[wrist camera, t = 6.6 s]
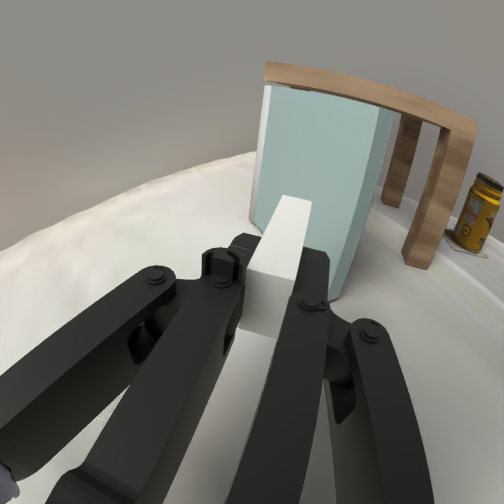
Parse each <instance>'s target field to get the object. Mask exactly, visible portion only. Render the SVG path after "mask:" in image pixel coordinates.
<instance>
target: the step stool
mask: <svg viewBox="0 0 504 504" xmlns="http://www.w3.org/2000/svg"><path fill="white" fill-rule="evenodd" d="M264 80H265V81H269V82H274V83H278V84H282V85H286V86H290V89H297V90H303V91H309V92H310V90H312V91H317V92H323V93H327V94H332V95H336V96H341V97H345V98H349V99H353V100H357V101H361V102H364V103H368V104H372V105H375V106H379V107H382V108H386V109H388V110H392V111H395V112H398V113H401V114H402V116H401V120H400V125H399V129H398V134H397V138H396V142H395V146H394V151H393V155H392V158H391V162H390V166H389V170H388V174H387V177H386V181H385V184H384V188H383V191H382V195H381V200H382V202H383V204H387V205H390V206H393V207H397V208H399V205H400V202H401V199H402V196H403V192H404V189H405V186H406V182H407V179H408V176H409V172H410V169H411V165H412V161H413V158H414V154H415V150H416V146H417V142H418V138H419V134H420V130H421V125H422V121H424V122H427V123H430V124H433V125H436V126H439V127H441V129H440V134H439V138H438V142H437V146H436V150H435V154H434V157H433V161H432V165H431V168H430V171H429V175H428V179H427V181H426V184H425V188H424V191H423V194H422V197H421V200H420V203H419V206H418V208H417V211H416V214H415V217H414V220H413V222H412V225H411V228H410V230H409V233H408V235H407V238H406V240H405V243H404V245H403V248H402V250H401V252H402V255H403V258H404V261H405V264H406V265H410V266H414V267H417V268H421V269H425V270H427V268H428V266H429V264H430V262H431V260H432V258H433V256H434V253H435V251H436V249H437V247H438V245H439V242H440V240H441V238H442V235H443V233H444V231H445V228H446V226H447V223H448V221H449V218H450V216H451V213H452V211H453V207H454V205H455V202H456V199H457V197H458V194H459V191H460V188H461V185H462V182H463V179H464V176H465V172H466V169H467V166H468V162H469V159H470V155H471V151H472V148H473V144H474V140H475V136H476V131H477V127H478V123H477V122H475V121H473V120H471V119H469V118H467V117H465V116H463V115H461V114H459V113H457V112H455V111H452V110H450V109H448V108H446V107H444V106H441V105H439V104H437V103H434V102H432V101H429V100H427V99H424V98H421V97H419V96H416V95H413V94H411V93H408V92H405V91H402V90H399V89H396V88H393V87H390V86H387V85H383V84H380V83H377V82H373V81H370V80H366V79H362V78H358V77H354V76H350V75H345V74H342V73H337V72H333V71H328V70H323V69H317V68H312V67H306V66H299V65H293V64H285V63H277V62H267V61H266V65H265V72H264Z"/></svg>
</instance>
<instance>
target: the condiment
mask: <svg viewBox="0 0 504 504" xmlns="http://www.w3.org/2000/svg"><path fill="white" fill-rule="evenodd" d="M503 189H504V187H503V186H502V185H501V184H500V183H498V182H497V181H495V180H494V179H492V178H490V177H488V176H487V175H484V174H482V173H478V174H477V177H476V180H475V182H474V185H473V186H472V187H471V188H470V190H469V193H468V196H467V198H466V201H465V204H464V206H463V209H462V212H461V214H460V217H459V219H458V222H457V224H456V227H455V229H454V231H452V230H450V229H445V231H444V233H443V236H444V238H445V239H446V241H448V242H449V243H450V245H451V246H452V247H453V248H454V250H456V251H461V252H466V253H470V254H473V255H477V256H480V257H485V258H488V257H487V256H486V255H485V254H484V252H482V250H481V249H482V246H483V244H484V242H485V240H486V238H487V236H488V233H489V231H490V229H491V227H492V224H493V221H494V219H495V216H496V214H497V212H498V210H499V206H500V201H499V200H500V199H501V194H502V191H503ZM457 245H458V246H457ZM459 246H460V247H459Z"/></svg>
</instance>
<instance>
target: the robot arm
mask: <svg viewBox="0 0 504 504" xmlns="http://www.w3.org/2000/svg"><path fill="white" fill-rule="evenodd" d="M311 205H312V201H308V200H304V199H300V198H295V197H291V196H287V195H283V196H282V198H281V200H280V202H279V204H278V206H277V208H276V210H275V212H274V214H273V216H272V218H271V220H270V222H269V224H268V226H267V228H266V230H265V232H264V234H263V236H262V237H259V236H255V235H251V234H247V233H242V234H240V235H238V236H237V237H235V238H234V240H233V241H232V243H231V244H230V246H229V247H228V248H222V247H220V248H212V249H209V250H207V251H205V252H204V253H203V254H202V276H201V277H200V279H195V280H185V279H176V276H175V274H174V271H172V270H171V269H170V268H168V267H165V266H158V265H154V266H149V267H146V268H144V269H142V270H140V271H139V272H138V273H136V274H135V275H133V276H132V277H130V278H129V279H127V280H126V281H125V282H123V283H122V284H120V285H119V286H117V287H116V288H115V289H113V290H112V291H110V292H109V293H107V294H106V295H105V296H103V297H102V298H100V299H99V300H98V301H96V302H95V303H94V304H92V305H91V306H89V307H88V308H87V309H85V310H84V311H83V312H81V313H80V314H78V315H77V316H76V317H74V318H73V319H72V320H70V321H69V322H68V323H66V324H65V325H64V326H62V327H61V328H60V329H58V330H57V331H56V332H54V333H53V334H52V335H51V336H49V337H48V338H47V339H45V340H44V341H43V342H42V343H40V344H39V345H38V346H36V347H35V348H34V349H33V350H31V351H30V352H29V353H28V354H26V355H25V356H24V357H23V358H21V359H20V360H19V361H18V362H16V363H15V364H14V365H13V366H12V367H10V368H9V369H8V370H7V371H5V372H4V373H3V374H2V375H1V376H0V504H5V503H7V502H8V501H10V500H11V499H12V497H13V498H17V497H18V496H19V494H20V490H19V486H18V485H17V483H16V482H17V481H20V480H23V479H25V478H27V477H29V476H31V475H32V474H34V473H36V472H37V471H38V470H39V469H41V468H42V467H43V466H44V465H45V464H46V463H48V462H49V461H50V460H51V459H52V458H53V457H54V456H55V455H56V454H57V453H58V452H59V451H60V450H61V449H63V448H64V447H65V446H66V445H67V444H68V443H69V442H70V441H71V440H72V439H73V438H74V437H75V436H76V435H77V434H79V433H80V432H81V431H82V430H83V429H84V428H85V427H86V426H87V425H88V424H89V423H90V422H91V421H92V420H93V419H94V418H95V417H96V416H98V415H99V414H100V413H101V412H102V411H103V410H104V409H105V408H106V407H107V406H108V405H109V404H110V403H111V402H112V401H113V400H114V399H115V398H116V397H117V396H119V395H120V394H121V393H122V392H123V391H124V390H125V389H126V388H127V387H128V386H129V385H130V386H129V387H128V389H127V391H126V392H125V394H124V395H123V397H122V399H121V400H120V402H119V404H118V405H117V407H116V408H115V410H114V412H113V413H112V415H111V417H110V418H109V420H108V422H107V423H106V425H105V427H104V428H103V430H102V432H101V433H100V435H99V437H98V438H97V440H96V442H95V443H94V445H93V447H92V448H91V450H90V452H89V454H88V455H87V457H86V459H85V460H84V462H83V463H82V464H81V465H80V466H79V467H78V468H75V469H72V470H69V471H67V472H66V473H65V474H64V475H62V476H61V478H60V479H59V480H58V482H57V483H56V485H55V486H54V488H53V490H52V492H51V494H50V495H49V497H48V499H47V501H46V503H45V504H163V501H164V499H165V497H166V495H167V493H168V491H169V488H170V486H171V484H172V482H173V480H174V477H175V475H176V473H177V471H178V469H179V466H180V464H181V462H182V460H183V457H184V455H185V453H186V451H187V448H188V446H189V444H190V442H191V439H192V437H193V435H194V432H195V430H196V428H197V426H198V423H199V421H200V419H201V416H202V414H203V412H204V410H205V407H206V405H207V403H208V400H209V398H210V396H211V393H212V391H213V389H214V386H215V384H216V382H217V379H218V377H219V375H220V372H221V370H222V368H223V365H224V363H225V360H226V358H227V356H228V353H229V351H230V349H231V346H232V344H233V341H234V338H235V331H236V328H237V326H238V323H239V328H240V329H244V330H247V331H251V332H255V333H258V334H262V335H266V336H269V337H273V338H277V343H276V346H275V349H274V353H273V356H272V359H271V363H270V367H269V370H268V374H267V377H266V380H265V384H264V387H263V390H262V393H261V397H260V400H259V403H258V406H257V409H256V413H255V416H254V419H253V422H252V425H251V428H250V431H249V434H248V437H247V440H246V443H245V446H244V449H243V452H242V455H241V458H240V461H239V463H238V466H237V469H236V472H235V475H234V477H233V480H232V483H231V486H230V488H229V491H228V494H227V496H226V499H225V502H224V504H299V500H300V496H301V492H302V488H303V484H304V480H305V475H306V471H307V466H308V462H309V457H310V452H311V447H312V442H313V437H314V431H315V426H316V420H317V414H318V408H319V402H320V395H321V389H322V381H323V378H324V388H325V395H326V403H327V410H328V418H329V426H330V435H331V444H332V453H333V463H334V474H335V485H336V498H337V504H434V497H433V491H432V485H431V480H430V475H429V470H428V465H427V460H426V455H425V451H424V447H423V443H422V439H421V435H420V431H419V427H418V423H417V419H416V416H415V412H414V409H413V405H412V402H411V399H410V395H409V392H408V389H407V386H406V382H405V379H404V376H403V373H402V370H401V367H400V364H399V361H398V359H397V356H396V353H395V350H394V347H393V345H392V342H391V339H390V336H389V334H388V332H387V331H386V329H385V328H384V327H383V326H382V325H381V324H380V323H378V322H376V321H374V320H372V319H367V318H363V319H358V320H356V321H354V322H353V323H352V324H351V323H349V322H347V321H345V320H343V319H341V318H340V317H338V316H337V315H336V314H335V313H333V312H332V310H331V309H330V304H329V302H328V300H327V299H328V286H329V272H330V259H329V257H328V255H327V253H326V252H324V251H320V250H316V249H312V248H308V247H304V246H303V244H304V239H305V234H306V230H307V225H308V220H309V215H310V210H311Z"/></svg>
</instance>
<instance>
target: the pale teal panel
mask: <svg viewBox="0 0 504 504" xmlns="http://www.w3.org/2000/svg"><path fill="white" fill-rule="evenodd" d="M393 115H394V112H392V111H389V110H385V109H383V108H379V107H376V106H372V105H369V104H365V103H360V102H357V101H353V100H349V99H344V98H340V97H335V96H330V95H325V94H320V93H315V92H309V91H303V90H297V89H290V88H283V87H275V86H267V85H265V89H264V97H263V105H262V113H261V121H260V129H259V137H258V145H257V153H256V161H255V169H254V178H253V186H252V194H251V203H250V211H249V220H250V221H251V222H253V223H255V225H256V226H257V227H258V228H259V229H260V230H261V231H262V232H263V233H264V232H265V230H266V228H267V226H268V224H269V222H270V220H271V218H272V216H273V214H274V212H275V210H276V208H277V206H278V204H279V202H280V200H281V198H282V196H283V195H287V196H291V197H295V198H300V199H304V200H308V201H312V205H311V210H310V215H309V220H308V225H307V230H306V234H305V239H304V244H303V246H304V247H308V248H312V249H316V250H320V251H324V252H326V253H327V255H328V257H329V259H330V272H329V286H328V299H327V300H328V301H330V300H333V299H336V298H339V295H340V293H341V290H342V287H343V285H344V282H345V280H346V277H347V274H348V272H349V269H350V266H351V263H352V261H353V258H354V255H355V252H356V249H357V246H358V243H359V240H360V237H361V234H362V231H363V228H364V225H365V222H366V219H367V216H368V213H369V209H370V206H371V203H372V199H373V196H374V192H375V189H376V185H377V182H378V178H379V174H380V171H381V167H382V163H383V159H384V155H385V151H386V147H387V142H388V138H389V134H390V129H391V125H392V120H393Z"/></svg>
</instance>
